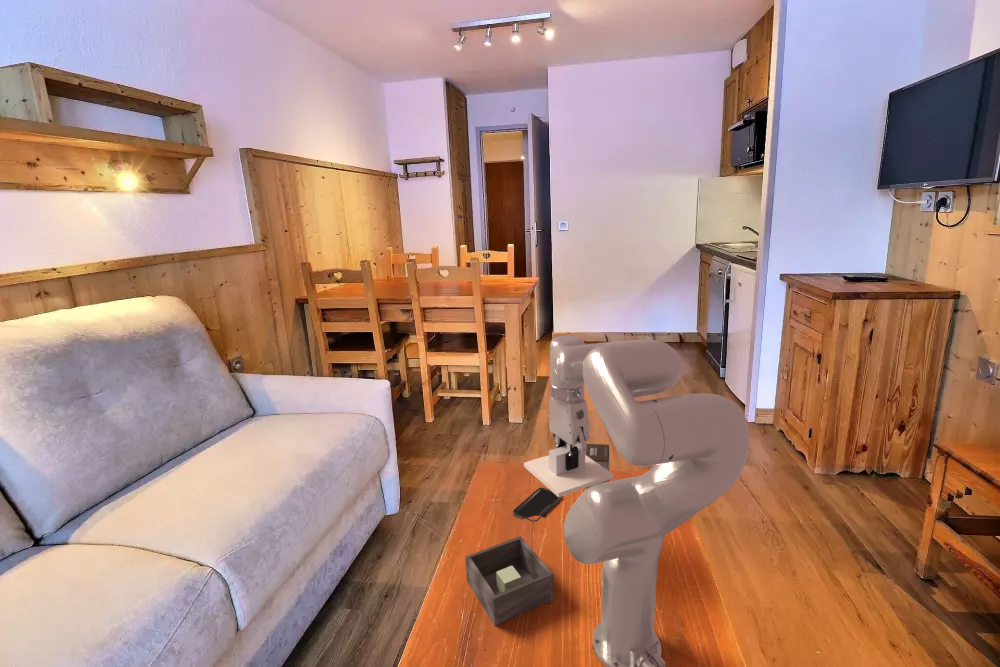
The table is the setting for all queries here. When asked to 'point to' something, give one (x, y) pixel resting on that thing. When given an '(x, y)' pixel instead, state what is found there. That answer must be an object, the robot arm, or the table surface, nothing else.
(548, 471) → the lid
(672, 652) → the table surface
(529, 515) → the phone
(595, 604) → the table surface
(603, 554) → the robot arm
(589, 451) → the coffee box
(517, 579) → the cube
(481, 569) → the box
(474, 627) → the table surface
